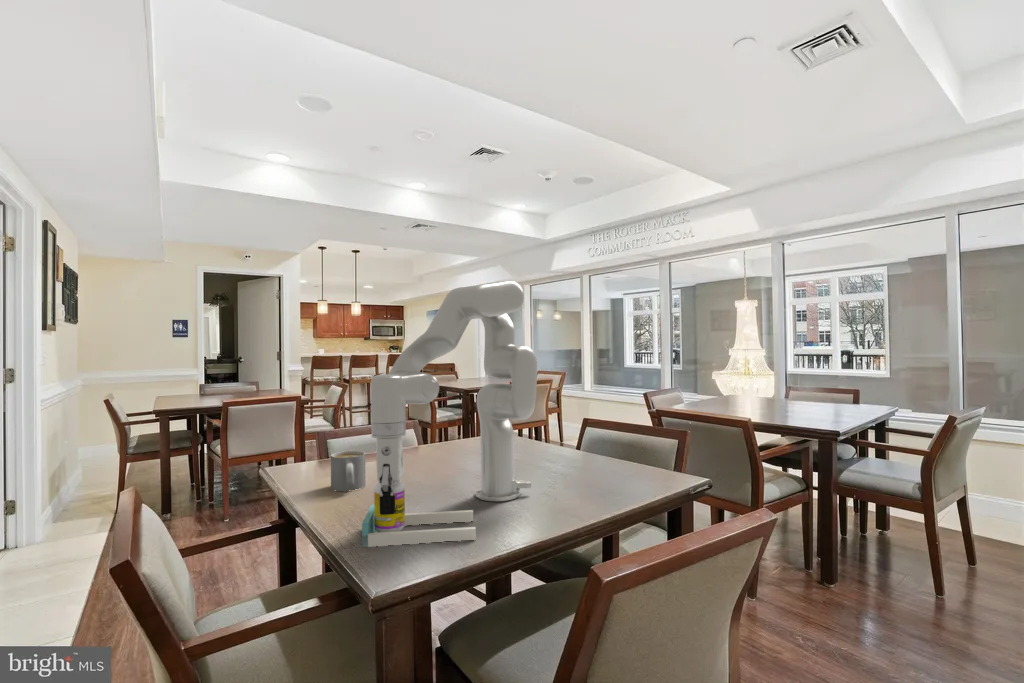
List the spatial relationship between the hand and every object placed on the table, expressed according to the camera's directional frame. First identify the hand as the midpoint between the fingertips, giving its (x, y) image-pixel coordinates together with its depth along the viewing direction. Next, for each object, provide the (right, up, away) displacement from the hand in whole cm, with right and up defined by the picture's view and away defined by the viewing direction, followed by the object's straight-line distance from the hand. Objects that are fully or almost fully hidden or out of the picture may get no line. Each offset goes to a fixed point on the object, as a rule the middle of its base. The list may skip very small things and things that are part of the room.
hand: (389, 507), depth 109 cm
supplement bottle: (0, -5, 0) cm, 5 cm away
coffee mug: (-22, -7, +36) cm, 43 cm away
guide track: (+6, -6, +1) cm, 9 cm away
